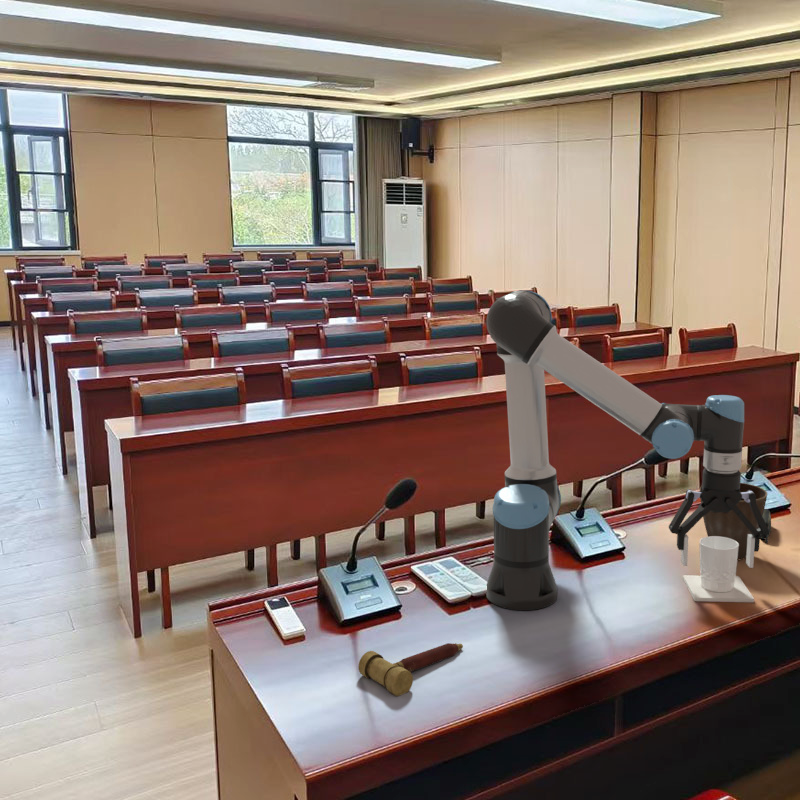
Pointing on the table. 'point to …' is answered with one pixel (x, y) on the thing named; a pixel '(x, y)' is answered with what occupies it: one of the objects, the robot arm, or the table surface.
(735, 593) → the tile
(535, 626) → the table surface
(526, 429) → the robot arm
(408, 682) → the gavel
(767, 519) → the mobile phone
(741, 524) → the plant pot
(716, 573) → the white cup
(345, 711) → the table surface
